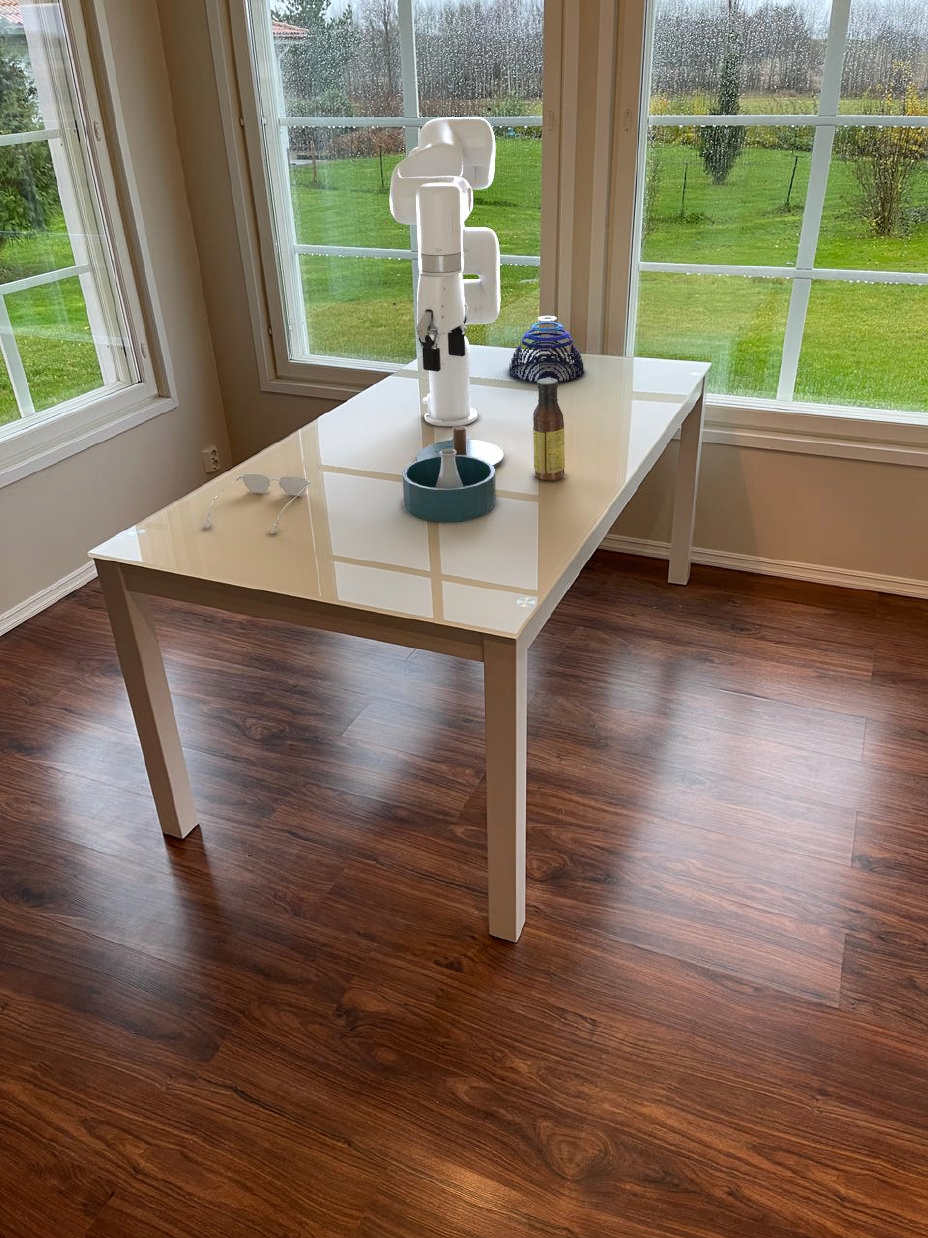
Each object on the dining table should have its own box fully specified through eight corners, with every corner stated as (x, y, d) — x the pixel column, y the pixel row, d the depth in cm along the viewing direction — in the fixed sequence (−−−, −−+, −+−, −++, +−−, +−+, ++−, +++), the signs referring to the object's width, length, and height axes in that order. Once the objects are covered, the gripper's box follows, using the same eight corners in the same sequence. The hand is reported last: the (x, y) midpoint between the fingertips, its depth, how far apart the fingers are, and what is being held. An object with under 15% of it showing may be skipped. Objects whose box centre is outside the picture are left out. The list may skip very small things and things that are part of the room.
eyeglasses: (313, 495, 189) (311, 477, 186) (278, 534, 173) (275, 515, 171) (241, 490, 192) (238, 472, 190) (200, 528, 177) (197, 509, 175)
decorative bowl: (587, 382, 248) (589, 326, 240) (510, 384, 248) (510, 328, 241) (580, 361, 265) (582, 308, 257) (508, 362, 265) (508, 310, 258)
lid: (399, 461, 203) (397, 428, 200) (461, 438, 214) (460, 407, 211) (458, 484, 192) (457, 450, 188) (521, 458, 203) (521, 426, 199)
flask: (430, 493, 187) (427, 445, 181) (466, 491, 187) (465, 443, 182) (432, 509, 180) (429, 459, 175) (470, 506, 181) (468, 457, 176)
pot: (385, 503, 184) (383, 472, 181) (451, 478, 195) (450, 448, 191) (447, 530, 173) (446, 497, 170) (513, 501, 183) (514, 470, 180)
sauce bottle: (567, 472, 196) (570, 376, 185) (560, 483, 191) (562, 386, 180) (536, 468, 198) (538, 374, 187) (528, 480, 193) (529, 383, 182)
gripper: (444, 251, 169) (447, 347, 178) (396, 271, 156) (402, 373, 165) (482, 254, 166) (484, 351, 175) (437, 274, 153) (441, 378, 162)
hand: (444, 362), depth 170 cm, fingers open, 9 cm apart
